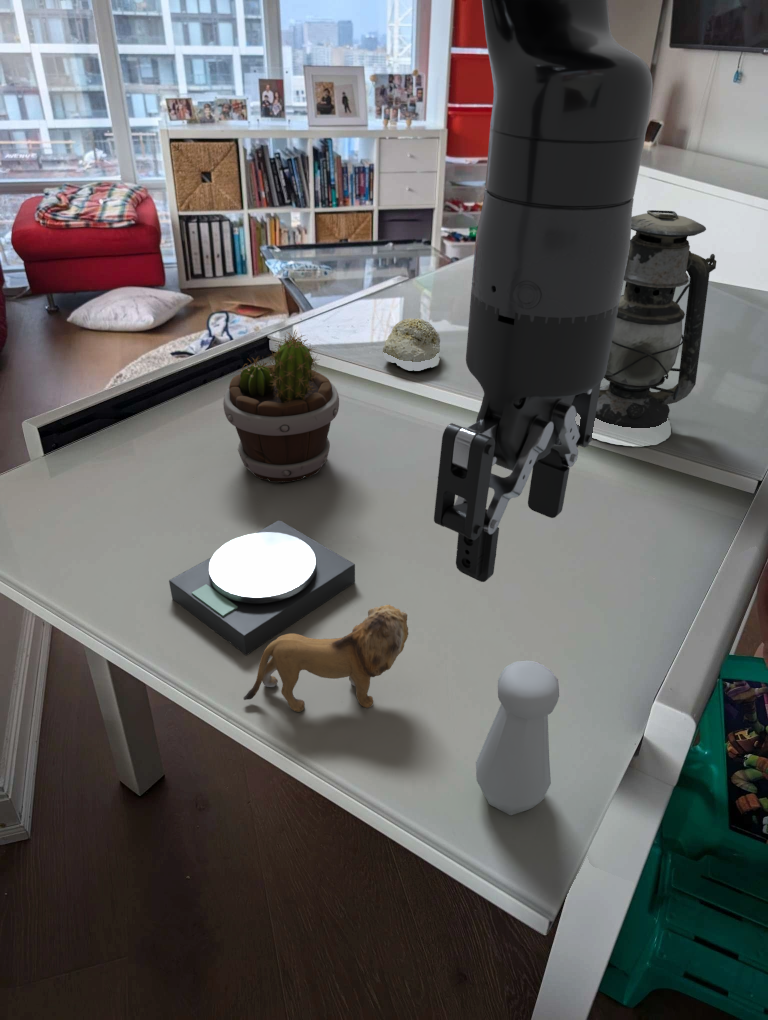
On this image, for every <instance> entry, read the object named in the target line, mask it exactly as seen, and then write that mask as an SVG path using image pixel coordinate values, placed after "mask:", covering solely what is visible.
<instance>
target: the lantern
mask: <svg viewBox="0 0 768 1020" xmlns="http://www.w3.org/2000/svg"><path fill="white" fill-rule="evenodd" d="M631 231H633V232H635V234H634V235H632V237H631V238H630V248H629V254H628V260H627V265H626V271H625V276H624V281H623V282H625V284H624V285H625V286H624V290H623V294H621V297H620V302H619V307H618V313H617V318H616V323H615V328H614V333H613V338H612V344H611V349H610V354H609V359H608V364H607V369H606V374H605V376H604V378H603V379H605V380H606V381H607V382H609V384H606V385H603V386H600V391H599V397H598V403H597V409H596V415H595V418H597V419H599V420H601V421H603V422H606V423H609V424H614V425H618V426H622V427H631V428H650V427H656V426H659V425H661V424H662V423H664V422H666V421H667V418H669V415H670V412H671V410H670V406H669V405H671V404H676V403H678V402H680V401H682V400H684V399H685V398H686V397H688V396H689V394H691V392H692V391H693V390H694V388H695V386H696V384H697V383H696V382H697V375H698V368H699V367H698V366H699V359H700V352H701V345H702V335H703V330H704V329H703V328H704V322H705V321H704V320H705V312H706V303H707V296H708V289H709V281H710V274H711V272H713V271H714V270H716V268H717V260H716V259H715V258H716V255H715V253H711V254H710V255H709V257H707V258H704V257H702V256H700V255H698V254H696V253H693V252H692V251H691V250H690V249H691V245H690V242H689V240H688V238H689V237H694V236H697V235H700V234H702V233H704V232H706V231H707V228H706V226H705V225H704V224H702V223H700V222H698V221H696V220H694V219H692V218H689V217H687V216H684V215H679V214H678V213H677V212H676V211H674V210H656V209H651V210H649V209H648V210H646V213H642V214H637V215H632V218H631ZM683 286H684V288H683V290H682V291H681V292H680V294H679V296H678V297H677V299H676V301H675V300H674V297H675V293H676V288H678V287H679V288H680V287H683ZM687 290H688V291H687ZM686 291H687V292H688V293H687V301H686V308H685V309H686V310H683V308H681V306H680V304H679V302H680V301H681V299H682V297H683V296H684V295H685V293H686ZM683 320H684V328H683ZM681 345H682V346H681ZM680 347H681V354H680V363H679V368H677V367H674V366H675V364H676V360H677V357H678V354H679V350H680ZM670 372H678V379H677V384H676V385H674V386H673V387H671V388H663V387H659V386H661V385H663V384H664V383H665V381H666V380H668V379H669V373H670ZM651 389H652V390H656V391H652V390H651Z"/></svg>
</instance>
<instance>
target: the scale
mask: <svg viewBox="0 0 768 1020" xmlns="http://www.w3.org/2000/svg"><path fill="white" fill-rule="evenodd" d="M259 532H277V533H284V534H288V535H292V536H294V537H297V538H299V539H301V540H302V541H304V542H305V543H307V544H308V545H309V546H310V547H311V549H312V550H313V552H314V553H315V556H316V566H317V568H316V573H315V576H314V578H313V579H312V581H311V582H310V583H309V585H308V586H307V587H305V588H304V589H303V590H302V591H300V592H299V593H297V594H295V595H293V596H291V597H289V598H286V599H283V600H280V601H276V602H271V603H261V604H254V603H244V602H239V601H235V600H232V599H230V598H227V597H225V596H224V595H222V594H221V593H219V592H218V591H217V590H216V589H215V588H214V587H213V585H212V583H211V581H210V578H209V571H208V567H209V562H210V560H211V558H212V556H211V557H209V558H207V559H205V560H203V561H201V562H200V563H198V564H196V565H194V566H193V567H191V568H189V569H187V570H185V571H183V572H182V573H180V574H178V575H176V576H174V577H172V578H170V579H169V580H168V582H169V589H170V594H171V595H170V596H171V599H172V600H173V601H175V602H176V604H178V605H179V606H181V607H182V608H183V609H185V610H186V611H187V612H189V613H190V614H191V615H193V616H194V617H195V618H196V619H198V620H199V621H200V622H202V623H204V624H205V625H206V626H207V627H209V629H211V630H213V631H214V632H215V633H217V634H218V635H219V636H220V637H222V638H223V639H225V640H226V641H227V642H228V643H230V644H231V645H232V646H233V647H235V648H236V649H237V650H239V651H240V652H241V653H243V654H244V655H246V656H247V655H249V654H250V653H252V652H253V651H255V650H256V649H258V648H259V647H260V646H262V645H263V644H265V643H266V642H268V641H269V640H271V639H273V638H274V637H275V636H277V635H279V634H280V633H281V632H283V631H285V630H286V629H288V628H289V627H290V626H292V625H294V624H295V623H296V622H298V621H299V620H301V619H302V618H304V617H305V616H307V615H308V614H310V613H311V612H314V611H315V610H316V609H318V608H319V607H320V606H322V605H323V604H325V603H327V602H328V601H330V600H331V599H332V598H334V597H336V596H337V595H338V594H339V593H341V592H343V591H344V590H345V589H347V588H348V587H350V586H352V585H353V584H354V583H356V564H355V563H354V562H352V561H351V560H349V559H347V558H346V557H344V556H342V555H340V554H338V553H337V552H335V551H333V550H332V549H330V548H328V547H327V546H325V545H323V544H321V543H320V542H318V541H316V540H315V539H313V538H311V537H309V536H308V535H306V534H304V533H303V532H301V531H299V530H298V529H296V528H295V527H293V526H291V525H290V524H287V523H286V522H284V521H282V520H281V519H278V520H277V521H275V522H273V523H271V524H269V525H267V526H265V527H263V528H262V529H260V530H258V531H256V532H255V533H259Z"/></svg>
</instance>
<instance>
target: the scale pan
mask: <svg viewBox="0 0 768 1020" xmlns="http://www.w3.org/2000/svg"><path fill="white" fill-rule="evenodd" d="M211 557H212V558H211ZM211 557H210V558H211V560H210V562H209V567H208V571H209V578H210V581H211V583H212V585H213V587H214V588H215V589H216V590H217V591H218V592H219V593H221V594H222V595H224V596H225V597H227V598H230V599H232V600H235V601H239V602H244V603H254V604H261V603H271V602H276V601H280V600H283V599H286V598H289V597H291V596H293V595H295V594H297V593H299V592H300V591H302V590H303V589H304V588H305V587H307V586H308V585H309V583H310V582H311V581H312V579H313V578H314V576H315V573H316V568H317V566H316V556H315V553H314V552H313V550H312V549H311V547H310V546H309V545H308V544H307V543H305V542H304V541H302V540H301V539H299V538H297V537H294V536H292V535H288V534H284V533H277V532H259V533H256V532H253V533H248V534H244V535H240V536H238V537H235V538H233V539H231V540H229V541H227V542H225V543H223V545H221V546H220V547H219V548H217V550H215V552H214V553H213V554H212V556H211Z"/></svg>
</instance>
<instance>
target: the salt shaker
mask: <svg viewBox="0 0 768 1020" xmlns="http://www.w3.org/2000/svg"><path fill="white" fill-rule="evenodd" d="M497 698H498V701H499V702H500V705H499V707H498V710H497V713H496V714H495V717H494V719H493V721H492V724H491V726H490V728H489V731H488V733H487V735H486V738H485V740H484V742H483V745H482V746H481V750H480V752H479V754H478V756H477V759H476V761H475V778H476V782H477V784H478V786H479V788H480V790H481V791H482V794H483V796H484V797H485V799H486V801H487V803H488V805H490V806H491V807H493V808H495V809H498V810H499V811H501V812H503V813H505V814H506V815H509V816H513V815H517V814H520V813H523V812H526V811H528V810H532V809H533V808H535V807H536V806H537V805H539V804H540V803H541V802H542V801H544V799H545V797H546V794H547V792H548V791H549V789H550V786H551V785H552V777H551V764H550V763H551V762H550V738H549V715H550V714H552V713H553V711H554V709H555V708H556V706H557V704H558V702H559V698H560V685H559V679H558V677H557V676H556V675H555V674H554V672H553V671H552V670H551V669H550V668H548V667H547V666H546V665H544V664H542V663H541V662H537V661H533V660H529V659H528V660H516V661H513V662H512V663H510V664H508V665H506V666H505V667H504V669H503V670H502V671H501V673H500V674H499V677H498V680H497Z"/></svg>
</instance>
